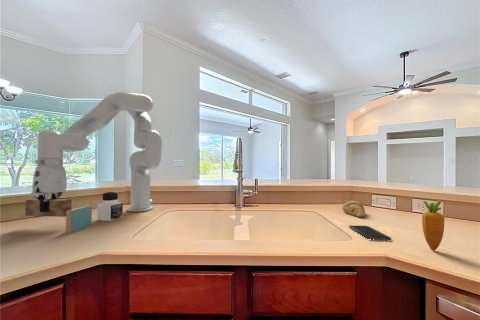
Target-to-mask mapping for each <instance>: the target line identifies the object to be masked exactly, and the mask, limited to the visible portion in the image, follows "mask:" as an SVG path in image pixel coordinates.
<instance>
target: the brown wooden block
mask: <svg viewBox="0 0 480 320" xmlns="http://www.w3.org/2000/svg"><path fill="white" fill-rule="evenodd" d="M48 201H49V212H40V201H38V199H37V198H30V199H25V207H24V208H25V210H24V211H25V212H24V213H25V214H24V216H25V217H56V218H57V217H58V218H59V217H60V218H62V217H63V218H66V210H70V209H72V199H70V198H69V199H67V198H66V199H64V198H61V199H60V198H59V199H51V198H48Z"/></svg>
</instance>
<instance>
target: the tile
mask: <svg viewBox="0 0 480 320" xmlns="http://www.w3.org/2000/svg"><path fill="white" fill-rule="evenodd" d="M92 216H93V205H83V206H80V207H75V208H71V209H70V210H66V216H65V233H66V234H70V233H71V234H74V233H76V232H78V231H81V230H83V229H87V228H89V227H91V226H92V225H93V224H92V223H93V222H92V220H93V219H92V218H93V217H92Z"/></svg>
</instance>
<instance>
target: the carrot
mask: <svg viewBox="0 0 480 320" xmlns="http://www.w3.org/2000/svg"><path fill="white" fill-rule="evenodd" d="M423 204H424V205H425V206H426V208H427V210H428V211H424V212H423V213H421V214H422V215H421V222H422V223H421V224H422V231H423V236H424V239H425V241H426V244H427V245H428V247H429V249H430V250H431V251H432V250H434V251H436V250H437V249H438V248H439V246H440V244H441V243H442V239H443V237H444V232H445V216H444V214H442V213H440V212H439V211H440V210H442V207H440V205H441V204H442V202H441V200H436V202H433V201H432V202H431V203H428V201H426V200H423Z"/></svg>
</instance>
